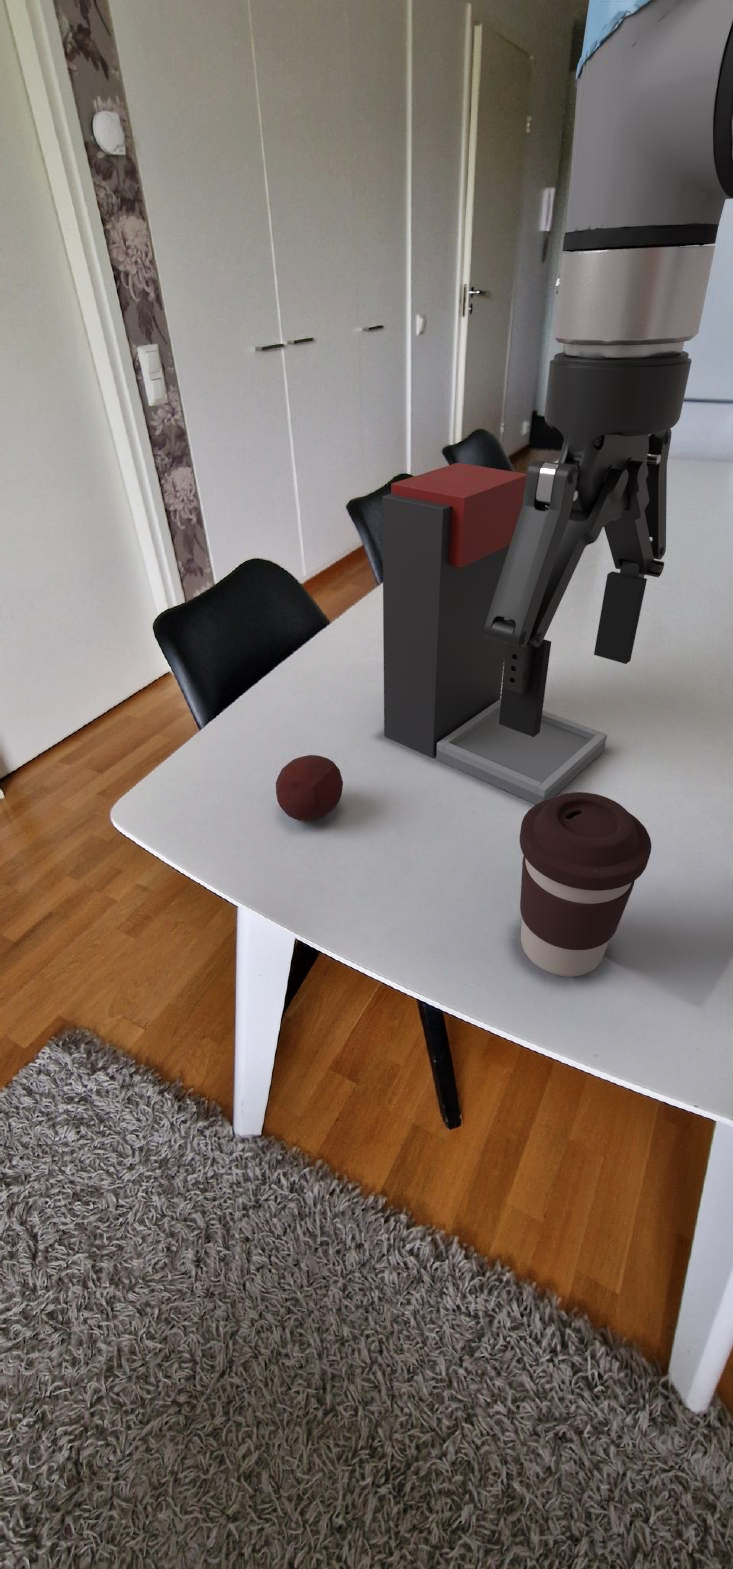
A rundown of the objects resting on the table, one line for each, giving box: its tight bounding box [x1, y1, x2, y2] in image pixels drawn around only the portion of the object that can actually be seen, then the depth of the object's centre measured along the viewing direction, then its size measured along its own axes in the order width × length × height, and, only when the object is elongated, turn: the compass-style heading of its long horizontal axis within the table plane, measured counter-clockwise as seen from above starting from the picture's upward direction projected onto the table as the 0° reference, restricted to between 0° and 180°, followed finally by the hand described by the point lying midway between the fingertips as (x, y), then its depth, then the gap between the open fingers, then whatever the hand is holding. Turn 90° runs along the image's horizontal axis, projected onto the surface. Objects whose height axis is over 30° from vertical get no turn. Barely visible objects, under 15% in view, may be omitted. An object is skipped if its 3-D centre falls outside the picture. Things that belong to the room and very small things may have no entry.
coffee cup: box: [519, 791, 652, 977], centre depth 59 cm, size 10×10×15 cm
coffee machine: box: [381, 462, 608, 805], centre depth 81 cm, size 24×15×31 cm, turn 49°
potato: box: [275, 754, 344, 822], centre depth 77 cm, size 7×8×7 cm
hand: (569, 690), depth 51 cm, fingers open, 13 cm apart
